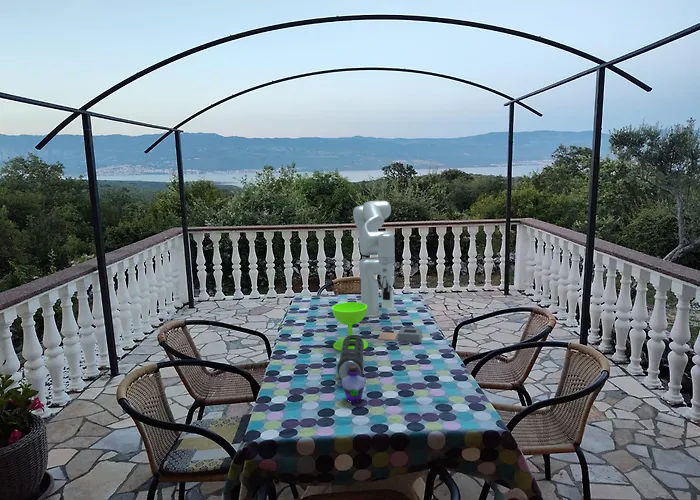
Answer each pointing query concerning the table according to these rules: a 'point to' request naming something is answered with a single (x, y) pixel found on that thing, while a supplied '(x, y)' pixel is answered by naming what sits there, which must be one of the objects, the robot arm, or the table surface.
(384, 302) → the plug
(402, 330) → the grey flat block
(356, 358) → the muzzle brake
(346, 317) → the wineglass
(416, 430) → the table surface
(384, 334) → the mat
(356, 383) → the potion bottle
